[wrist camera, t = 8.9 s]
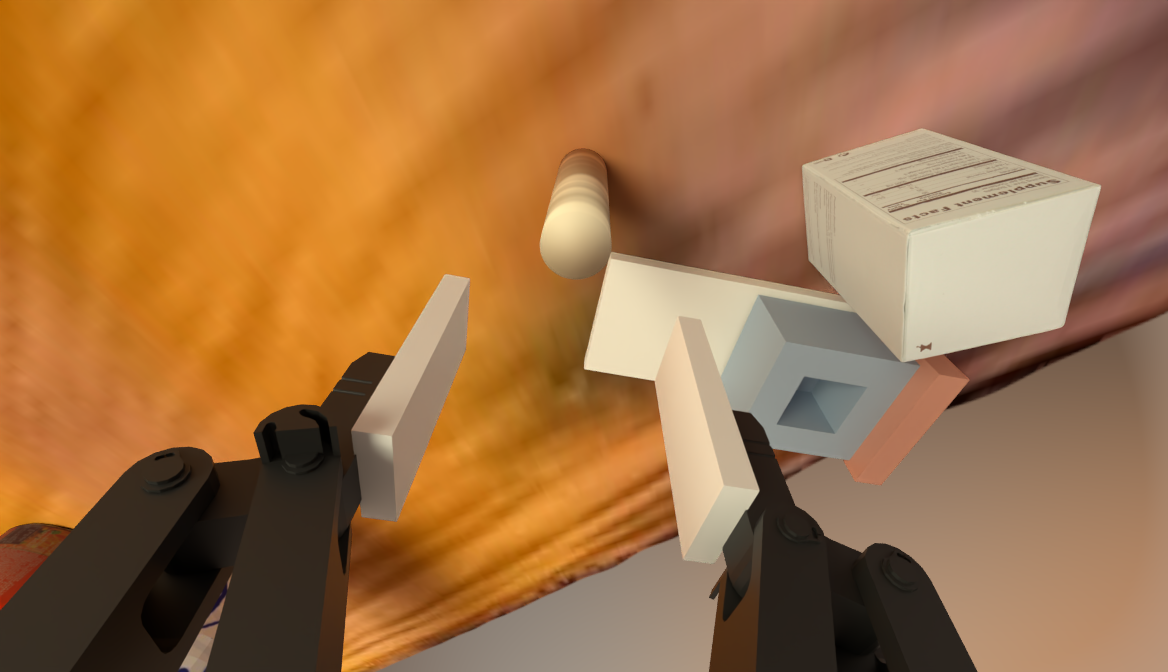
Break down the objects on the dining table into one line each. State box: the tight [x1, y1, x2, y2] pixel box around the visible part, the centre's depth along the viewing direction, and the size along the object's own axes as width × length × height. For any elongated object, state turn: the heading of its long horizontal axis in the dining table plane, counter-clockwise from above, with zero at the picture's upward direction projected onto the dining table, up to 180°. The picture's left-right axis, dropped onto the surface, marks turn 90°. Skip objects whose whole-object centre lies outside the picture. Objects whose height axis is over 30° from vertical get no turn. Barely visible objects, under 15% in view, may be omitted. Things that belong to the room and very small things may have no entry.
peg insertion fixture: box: [584, 252, 969, 485], centre depth 34 cm, size 10×22×9 cm, turn 79°
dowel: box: [540, 149, 611, 279], centre depth 26 cm, size 3×3×12 cm
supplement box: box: [802, 129, 1101, 362], centre depth 26 cm, size 7×7×13 cm
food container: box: [0, 524, 72, 610], centre depth 54 cm, size 16×16×11 cm
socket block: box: [721, 295, 920, 460], centre depth 34 cm, size 9×9×6 cm
